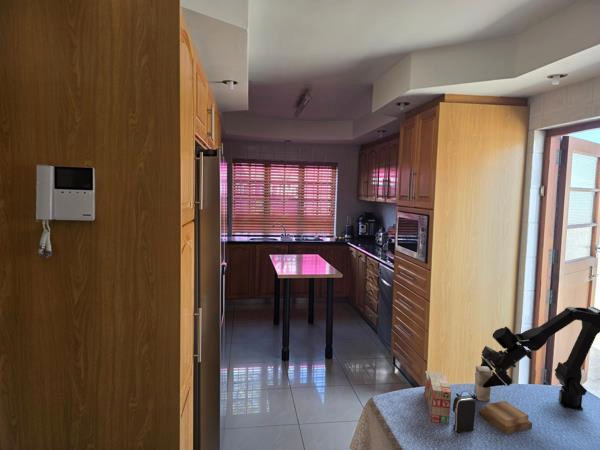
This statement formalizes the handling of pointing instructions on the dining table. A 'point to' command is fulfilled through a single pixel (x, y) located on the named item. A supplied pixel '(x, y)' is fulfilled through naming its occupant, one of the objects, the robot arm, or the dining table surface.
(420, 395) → the dining table surface
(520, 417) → the maple block
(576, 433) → the dining table surface
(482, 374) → the ash block
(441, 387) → the stack of blocks
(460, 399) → the battery charger
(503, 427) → the wooden base plate
